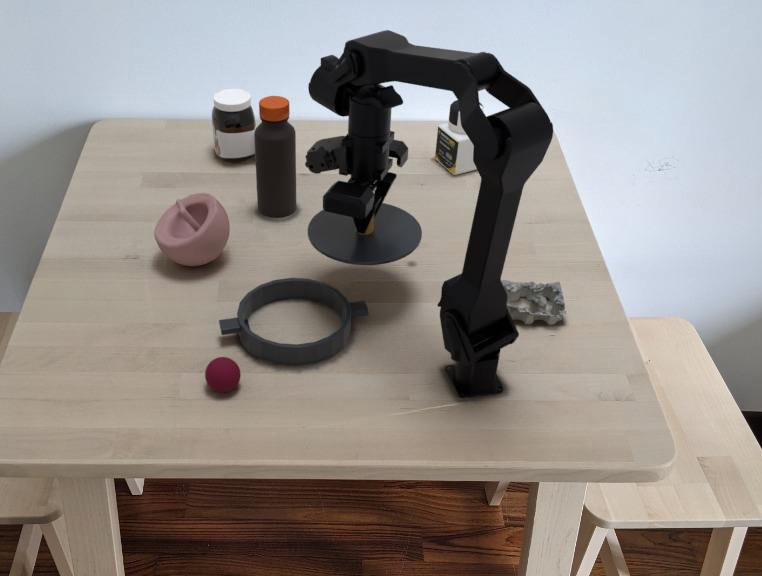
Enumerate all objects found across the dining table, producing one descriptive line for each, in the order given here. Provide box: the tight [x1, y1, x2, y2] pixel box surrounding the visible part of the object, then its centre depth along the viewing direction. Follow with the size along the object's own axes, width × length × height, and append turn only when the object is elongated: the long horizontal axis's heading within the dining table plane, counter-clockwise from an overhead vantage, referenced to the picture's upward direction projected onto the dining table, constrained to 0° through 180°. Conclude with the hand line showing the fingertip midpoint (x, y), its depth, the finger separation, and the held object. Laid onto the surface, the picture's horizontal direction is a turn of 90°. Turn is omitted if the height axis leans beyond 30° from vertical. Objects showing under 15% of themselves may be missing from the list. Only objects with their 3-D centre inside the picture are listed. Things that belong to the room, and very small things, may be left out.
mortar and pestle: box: [153, 192, 231, 267], centre depth 145 cm, size 12×12×12 cm
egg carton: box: [501, 279, 567, 326], centre depth 136 cm, size 11×8×4 cm
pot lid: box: [307, 202, 423, 266], centre depth 133 cm, size 17×17×6 cm
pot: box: [218, 277, 370, 367], centre depth 133 cm, size 16×22×4 cm
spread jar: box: [211, 88, 257, 164], centre depth 171 cm, size 12×11×12 cm
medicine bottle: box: [434, 99, 485, 176], centre depth 168 cm, size 7×7×12 cm
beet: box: [204, 356, 242, 393], centre depth 124 cm, size 5×5×5 cm
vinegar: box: [254, 95, 297, 219], centre depth 153 cm, size 7×7×20 cm
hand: (364, 227), depth 134 cm, fingers closed on pot lid, 3 cm apart
